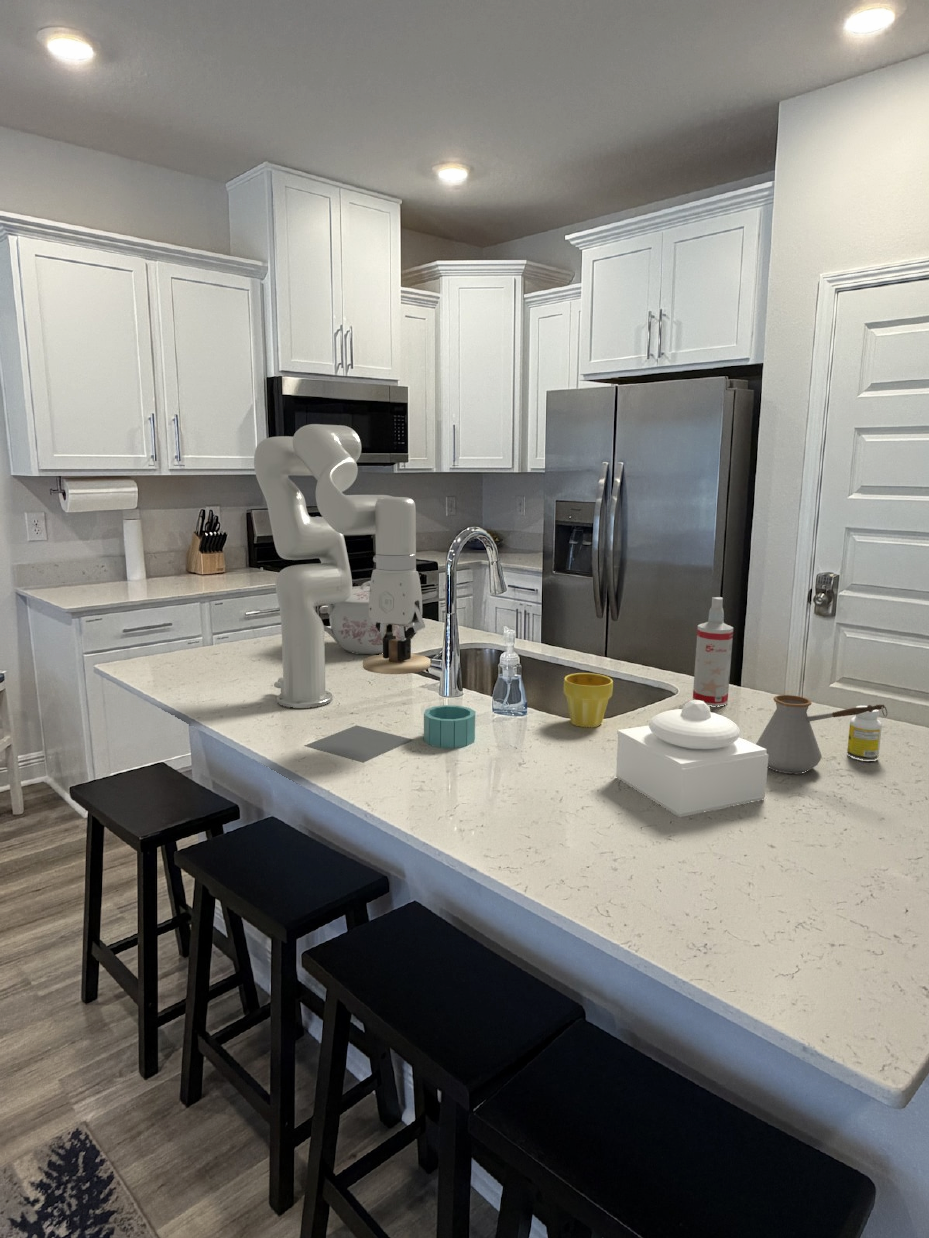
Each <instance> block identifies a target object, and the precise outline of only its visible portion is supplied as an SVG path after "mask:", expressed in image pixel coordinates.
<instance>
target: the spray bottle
mask: <svg viewBox="0 0 929 1238" xmlns="http://www.w3.org/2000/svg"><path fill="white" fill-rule="evenodd" d="M723 600H724V598H723V597H721V596H716V597H714V596H712V597H711V607H710V609H709V611H708V619H707V621H706V622H703V623H700V624H698V625H697V631H696V632H697V633H696V646H695V660H694V661H695V662H694V674H693V677H694V678H693V689H692V700H700V701H704V702H705V703H706V704H707V705H712V706H718V705H719V706H720V705H725V704H727V705H728V704H729V703H728V700H729V689H730V688H729V687H730V678H731V677H730V675H731V662H732V652H733V650H732V649H733V639H734V638H733V637H734V627H733V626H731V625H728V624H727V623H725V622H724V619H725V612H724V608H723V604H724V603H723Z"/></svg>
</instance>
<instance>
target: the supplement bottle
mask: <svg viewBox="0 0 929 1238" xmlns="http://www.w3.org/2000/svg"><path fill="white" fill-rule="evenodd" d="M867 706H868V705H856V706H855V707H867ZM879 713H880V710H873V711H872V712H869V711H867V712H864V713H860V714H857V715H855V716H854V717H852V718H851V719H850V720H849V729H848V739H847V748H846V749H847V750H846V751H847V752H846V753H848V755H850V756H853V757H855V758H859V759H863V760H875V759H877V758H878V759H879V756H880V748H881V747H880V746H881V736H882V727H883V725H882V724H883V723H882V722H881V721H880V720H879V719H878V718H879ZM848 755H847V756H848Z"/></svg>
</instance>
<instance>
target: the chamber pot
mask: <svg viewBox="0 0 929 1238" xmlns="http://www.w3.org/2000/svg"><path fill="white" fill-rule="evenodd" d="M370 582H371V580H368V581H364V582H363V583H362V584H361V585H358V586H352V592H351V595H350V597H349V598H348V599H347V600H346V601H344V602H340V603H334V604H325V605H326V607H327V614H328V615H329V617H328V619H329V625H330V627H329V626H327V625H324V632H326V633H327V634H329V636H331V638H332V639H333V640H334V641H335V642H336V643H337V644H339V646H340V647H341V648H342V649H343V650H344V651H347V652H350V653H352V652H354V653H353V654H356V653H359V654H358V655H362V654H379V655H380V654H382V653H383V638H381V637H380V632H379V631H378V629H377V628H376V626H375V625H373V624H372V623H371V622H370V621H369V591H370ZM316 609H317V606H314V610H315V611H316ZM387 626H388V625H387ZM406 630H407V627H406ZM393 636H396V639H400V634H399V625H394V634H393Z"/></svg>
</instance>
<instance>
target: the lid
mask: <svg viewBox="0 0 929 1238" xmlns="http://www.w3.org/2000/svg"><path fill="white" fill-rule="evenodd" d="M399 640H400V639H391V640H389V658H387V659H385V658H383V654H379V655H369V656H368V657H365V658H364V659H362V668H363V670H365V671H367V672H371V673H375V674H383V675H408V674H415V673H419V672H420V673H421V672H424V671H427V670H428V669H430V667H431V659H430V658H429V657H428V656H424V655H421V654H416V653H411V658H410V659H408V660H404V661H398V650H397V642H398V641H399Z"/></svg>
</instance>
